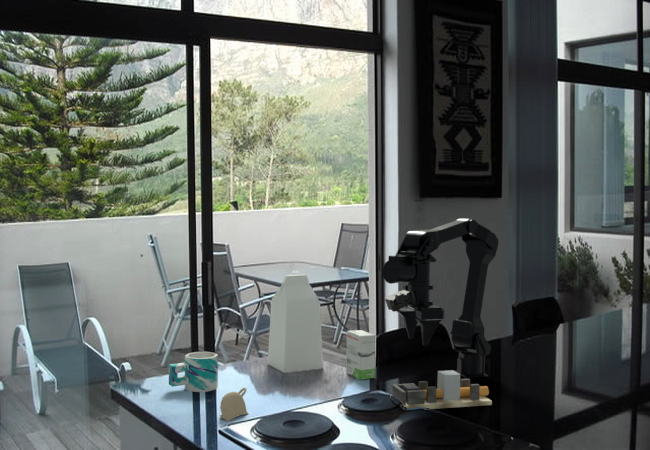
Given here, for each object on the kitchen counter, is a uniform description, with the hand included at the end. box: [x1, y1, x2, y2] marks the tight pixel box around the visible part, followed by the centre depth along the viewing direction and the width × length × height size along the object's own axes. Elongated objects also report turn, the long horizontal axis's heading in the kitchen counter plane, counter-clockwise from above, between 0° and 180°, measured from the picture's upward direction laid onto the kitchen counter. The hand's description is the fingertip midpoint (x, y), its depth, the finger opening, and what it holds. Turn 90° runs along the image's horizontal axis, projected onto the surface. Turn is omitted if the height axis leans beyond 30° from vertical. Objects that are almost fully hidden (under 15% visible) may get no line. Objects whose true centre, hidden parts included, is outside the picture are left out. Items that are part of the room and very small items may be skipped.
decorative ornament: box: [219, 387, 249, 422], centre depth 162 cm, size 4×8×5 cm, turn 142°
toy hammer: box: [403, 369, 490, 401], centre depth 175 cm, size 21×4×6 cm, turn 105°
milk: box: [267, 274, 324, 374], centre depth 208 cm, size 12×12×26 cm
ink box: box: [345, 329, 376, 380], centre depth 199 cm, size 9×5×12 cm, turn 25°
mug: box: [168, 351, 219, 393], centre depth 184 cm, size 8×12×8 cm
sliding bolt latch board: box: [391, 378, 493, 410], centre depth 174 cm, size 22×9×4 cm, turn 105°
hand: (417, 341), depth 187 cm, fingers open, 9 cm apart
